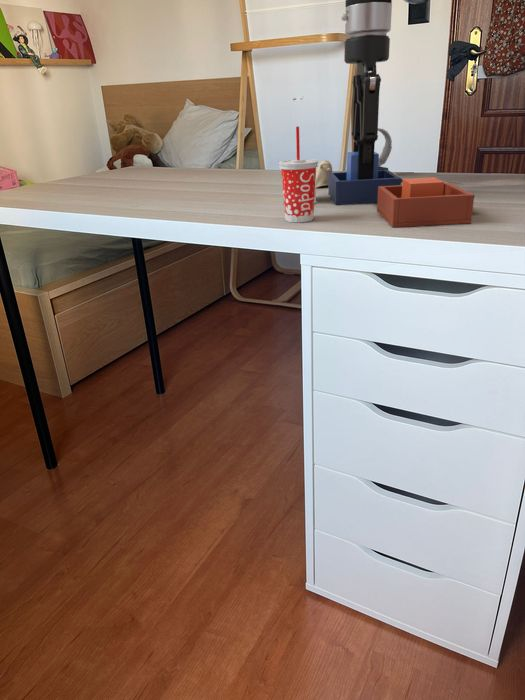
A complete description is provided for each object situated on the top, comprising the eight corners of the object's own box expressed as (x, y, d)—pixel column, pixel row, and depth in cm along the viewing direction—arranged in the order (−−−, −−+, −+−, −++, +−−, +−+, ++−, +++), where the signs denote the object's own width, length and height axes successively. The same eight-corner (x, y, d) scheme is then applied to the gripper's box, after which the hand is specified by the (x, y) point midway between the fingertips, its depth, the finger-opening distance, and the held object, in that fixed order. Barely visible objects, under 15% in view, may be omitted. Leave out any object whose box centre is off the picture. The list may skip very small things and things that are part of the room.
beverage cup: (284, 224, 83) (281, 129, 77) (277, 217, 88) (274, 126, 82) (322, 221, 84) (322, 126, 78) (312, 214, 89) (312, 124, 83)
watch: (349, 182, 117) (350, 129, 112) (381, 179, 119) (383, 126, 114) (361, 186, 112) (363, 130, 107) (394, 182, 114) (397, 127, 109)
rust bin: (446, 207, 88) (448, 182, 86) (471, 223, 78) (474, 194, 76) (376, 211, 88) (378, 186, 87) (392, 227, 78) (393, 199, 76)
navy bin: (386, 190, 105) (387, 169, 104) (400, 201, 95) (401, 178, 93) (328, 194, 106) (328, 172, 104) (335, 205, 95) (335, 181, 93)
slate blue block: (372, 178, 101) (373, 151, 99) (377, 182, 97) (379, 153, 94) (346, 179, 101) (347, 152, 99) (350, 183, 97) (351, 155, 95)
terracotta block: (431, 209, 85) (434, 177, 83) (441, 215, 80) (444, 181, 78) (400, 211, 85) (402, 178, 83) (408, 217, 81) (410, 183, 78)
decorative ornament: (331, 182, 118) (331, 157, 116) (333, 188, 111) (333, 162, 108) (313, 183, 119) (313, 158, 116) (313, 189, 111) (313, 163, 109)
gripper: (338, 42, 97) (336, 174, 107) (353, 31, 81) (349, 188, 91) (378, 39, 97) (373, 172, 107) (402, 28, 80) (393, 186, 91)
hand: (362, 179), depth 99 cm, fingers closed on slate blue block, 5 cm apart
